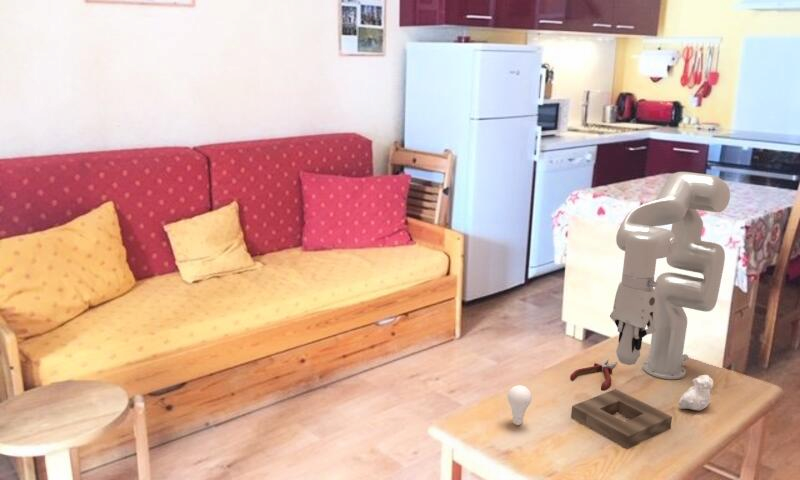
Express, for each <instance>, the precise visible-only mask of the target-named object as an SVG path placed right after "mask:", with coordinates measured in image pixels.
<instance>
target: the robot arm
mask: <svg viewBox="0 0 800 480" xmlns="http://www.w3.org/2000/svg"><path fill="white" fill-rule="evenodd" d="M659 191H660V192H659V193H658V195H657V197H656V198H655V200H650V201H648V202H646V203H644V204H641V205H638V206H637V207H634V208H633V209H631V210H630V211H629V212H628V213H627V215H626V216H625V217H624V219H623V221H622V222H621V224H620V225H619V228H618V230H617V233H616V237H615V239H616V240H615V243H616V246H617V248H619V249H620V250H621V251H624V258H623V265H622V266H623V268H622V273H621V274H622V276H621V281H619V284H618V286H617V289H616V293H615V296H614V300H613V309H612V311H611V313H610V315H609V317H610V319H611V320H612V322H614V324H615V325H616V328H617V332H618V333H619V334H618V343H619V342H620V340H621V337H622V332H623V329H624V326H625V323H624V322H625V321H626V320H628V321H629V323H630V325H632V326H635V328H634V337H635V338H632V353H633V350H634V347H635V349H636V350H640V351H641V349H642V344H643V343H642V342H643V338H645V336H647V335H651V338H650V339H651V340H650V348H649V355H648V359H646V360H644V361H643V363H642V369H643V371H644V372H645V373H647V374H649V375H651V376H653V377H656V378H659V379H664V380H680V379H682V378H684V377H685V376H686V373H687V372H686V371H687V370H686V369H685V367H684V366H683V365H682V364H683V363H684V362H685V361H688V360H689V355H688V354H687V353H684V347H685V342H686V336H687V335H686V334H687V328H688V327H687V326H688V317H687V313H686V312H685V310H684V308H687V309H690V310H695V311H700V312H706V313H707V312H711V311H712V310H714V308H715V307H716V305H717V301H718V297H719V294H720V293H719V292H720V287H721V282H722V277H723V272H724V268H725V259H726V253H725V249H724V247H723V246H722V245H721V244H718V243H716V242H712V241H705V240H702V233H703V228H704V222H703V219H702V217H701V215H700V213H699V212H698V211H705V212H711V213H722V212H724V211H725V210H726V209H727V207H728V206H729V203H730V199H731V198H730V197H731V191H730V187H729V185H728V184H727V183H726V182H725V181H724V180H723V179H722V178H720V177H719V176H717V175H714V174H706V173H697V172H691V171H677V172H674V173H672V174H670V176H668V178H667V179H666V180H665V183H664V184H663V186H662V187H661V190H659ZM667 225H671V228H670V229H671V230H670V229H667V228H662V227H661V226H667ZM664 258H665V259H666V262H667V264H668V266H670V267H672V268H674V269H678V270H681V271H687V272H692V273H698V274H701V275H702V277H703V278H702V277H697V276H692V275H687V274H682V273H677V272H664V273H660V274H659V276H657V278H656V279H655V274H656V273H655V272H656V266H657V260H658V259H664ZM646 327H647V329H646Z"/></svg>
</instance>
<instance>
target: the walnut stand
mask: <svg viewBox="0 0 800 480" xmlns="http://www.w3.org/2000/svg"><path fill="white" fill-rule="evenodd" d="M617 413H618V414H620V415H622V416H624V417H626V418H628V420H626V421H624V420H622V419H620V418H619V417H616V416H615V415H614V414H617ZM570 418H571V419H573V420H575V421H577V422H578V423H580V424H582V425H584V426H586V427H588V428H589V429H591V430H592V431H594V432H596V433H598V434H600V435H601V436H602V437H603V436H604V437H605V438H607V439H609V440H611V441H612V442H614V443H615V444H618V445H620V446H621V447H623V448H625V449H626V450H627V449H630V448H632V447H634V446H636V445H639V444H642V442H644V441H647V440H649V439H651V438H653V437H655V436H657V435H659V434H662V433H664V432H666V431H668V430H671V428H672V421H673V416H672V415H671V414H668V413H667V412H663V411H662V410H659V409H657V408H656V407H654V406H652V405H650V404H647V403H645V402H643V401H641V400H639V399H637V398H635V397H633V396H631V395H629V394H627V393H624V392H623V391H621V390H619V389H617V388H615V389H612V390H609V391H607V392H604V393H601V394H599V395H596V396H594V397H591V398H589V399H585V400H584V401H581V402H578V403H576V404H573V405H572V406H571V413H570Z"/></svg>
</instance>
